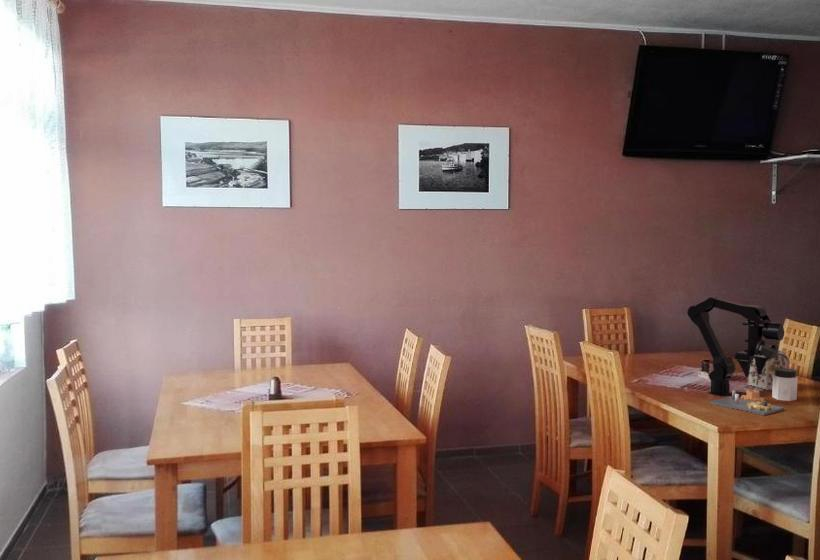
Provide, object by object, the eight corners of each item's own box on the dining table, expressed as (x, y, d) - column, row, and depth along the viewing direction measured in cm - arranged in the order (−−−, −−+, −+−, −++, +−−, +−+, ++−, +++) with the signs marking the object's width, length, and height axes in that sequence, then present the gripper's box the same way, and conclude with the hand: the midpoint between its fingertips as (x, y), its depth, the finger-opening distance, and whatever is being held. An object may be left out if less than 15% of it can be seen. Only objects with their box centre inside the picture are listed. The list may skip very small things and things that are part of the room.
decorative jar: (788, 389, 320) (790, 347, 319) (767, 390, 317) (768, 349, 316) (767, 383, 332) (769, 343, 330) (746, 385, 328) (748, 344, 327)
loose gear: (736, 399, 301) (736, 390, 300) (748, 396, 306) (748, 387, 305) (757, 403, 293) (757, 394, 293) (769, 400, 298) (769, 391, 298)
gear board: (710, 403, 293) (710, 392, 293) (730, 399, 301) (730, 388, 301) (763, 415, 275) (764, 403, 275) (783, 410, 283) (784, 398, 283)
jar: (771, 399, 301) (772, 370, 300) (772, 395, 308) (773, 367, 307) (796, 402, 296) (797, 372, 296) (796, 398, 304) (798, 369, 303)
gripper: (761, 342, 286) (759, 381, 287) (787, 338, 296) (785, 376, 298) (734, 338, 295) (733, 376, 296) (760, 334, 306) (758, 371, 307)
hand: (753, 375), depth 299 cm, fingers open, 9 cm apart
